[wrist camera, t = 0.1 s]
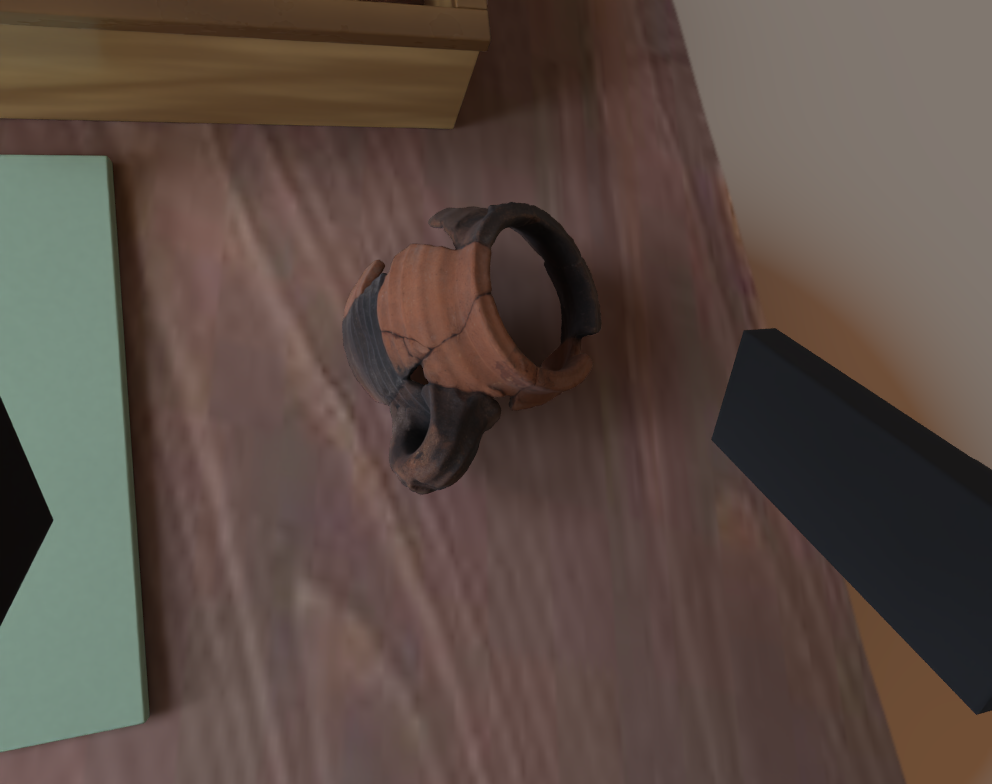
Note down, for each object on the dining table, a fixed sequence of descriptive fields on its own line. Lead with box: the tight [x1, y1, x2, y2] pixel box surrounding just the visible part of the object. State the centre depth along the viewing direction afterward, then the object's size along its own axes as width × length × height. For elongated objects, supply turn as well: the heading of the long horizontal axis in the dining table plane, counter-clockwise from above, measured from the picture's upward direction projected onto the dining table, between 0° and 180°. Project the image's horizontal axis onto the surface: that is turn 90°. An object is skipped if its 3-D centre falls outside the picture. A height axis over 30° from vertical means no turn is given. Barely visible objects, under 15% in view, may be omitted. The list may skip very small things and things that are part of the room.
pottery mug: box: [342, 202, 601, 494], centre depth 25 cm, size 12×10×8 cm
